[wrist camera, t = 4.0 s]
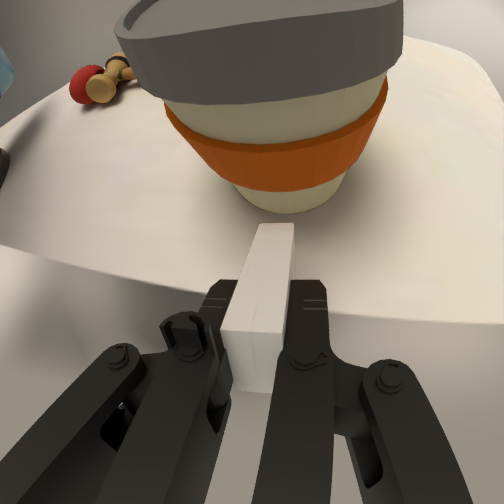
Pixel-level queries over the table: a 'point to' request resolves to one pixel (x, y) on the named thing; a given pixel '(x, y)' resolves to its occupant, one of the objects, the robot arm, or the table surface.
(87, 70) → the kendama
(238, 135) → the reusable coffee cup
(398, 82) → the table surface
